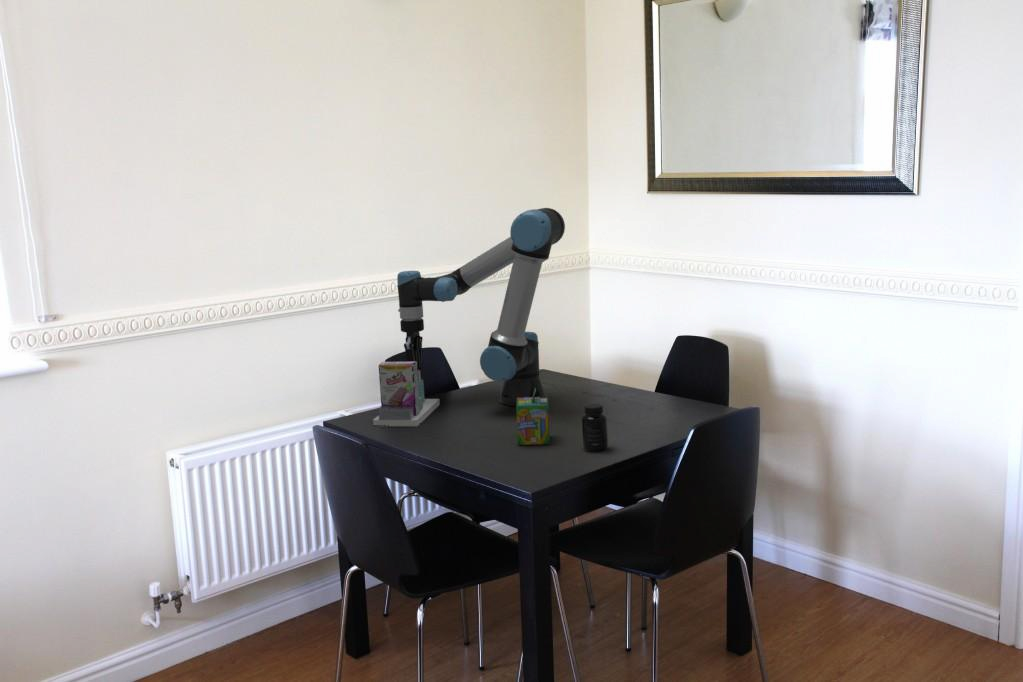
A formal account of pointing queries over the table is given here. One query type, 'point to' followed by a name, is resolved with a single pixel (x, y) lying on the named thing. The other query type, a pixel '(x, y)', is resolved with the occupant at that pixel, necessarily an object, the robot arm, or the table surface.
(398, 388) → the candy bar box
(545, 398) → the chalk box
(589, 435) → the supplement bottle
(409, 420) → the base
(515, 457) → the table surface
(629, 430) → the table surface
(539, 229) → the robot arm
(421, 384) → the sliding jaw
